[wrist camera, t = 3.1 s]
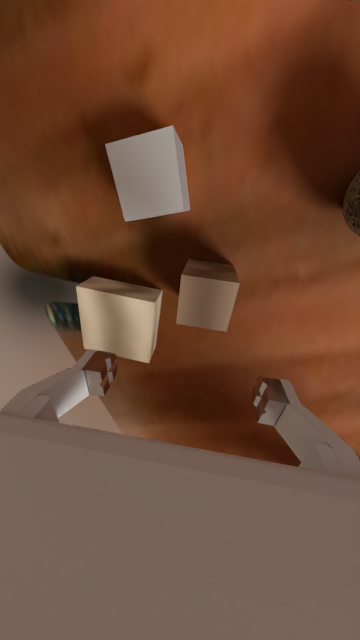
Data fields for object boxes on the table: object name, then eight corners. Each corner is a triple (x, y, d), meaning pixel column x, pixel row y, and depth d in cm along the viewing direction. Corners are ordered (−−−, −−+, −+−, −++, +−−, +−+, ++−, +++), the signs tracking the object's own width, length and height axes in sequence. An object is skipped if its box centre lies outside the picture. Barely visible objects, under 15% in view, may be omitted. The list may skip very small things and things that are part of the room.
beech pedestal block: (163, 289, 24) (154, 302, 21) (156, 345, 29) (148, 363, 26) (94, 275, 25) (75, 286, 21) (99, 332, 30) (84, 348, 26)
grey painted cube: (182, 145, 17) (172, 125, 13) (190, 210, 20) (183, 210, 15) (130, 159, 18) (104, 144, 14) (143, 218, 21) (125, 221, 16)
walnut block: (233, 265, 22) (239, 283, 16) (223, 305, 24) (226, 331, 19) (188, 258, 22) (181, 274, 17) (183, 299, 24) (176, 323, 19)
